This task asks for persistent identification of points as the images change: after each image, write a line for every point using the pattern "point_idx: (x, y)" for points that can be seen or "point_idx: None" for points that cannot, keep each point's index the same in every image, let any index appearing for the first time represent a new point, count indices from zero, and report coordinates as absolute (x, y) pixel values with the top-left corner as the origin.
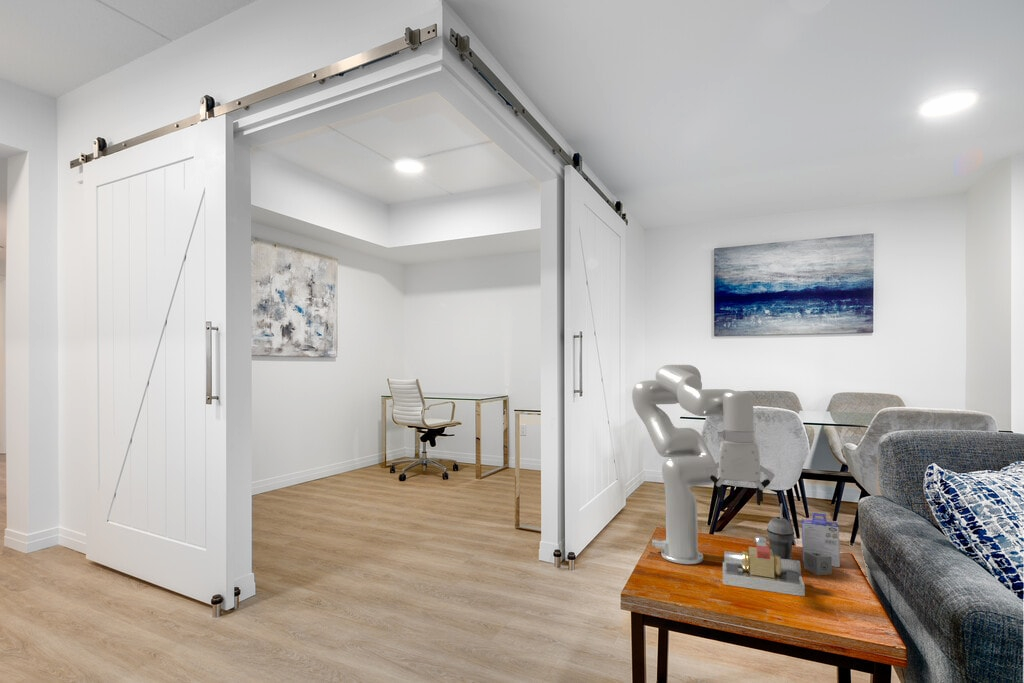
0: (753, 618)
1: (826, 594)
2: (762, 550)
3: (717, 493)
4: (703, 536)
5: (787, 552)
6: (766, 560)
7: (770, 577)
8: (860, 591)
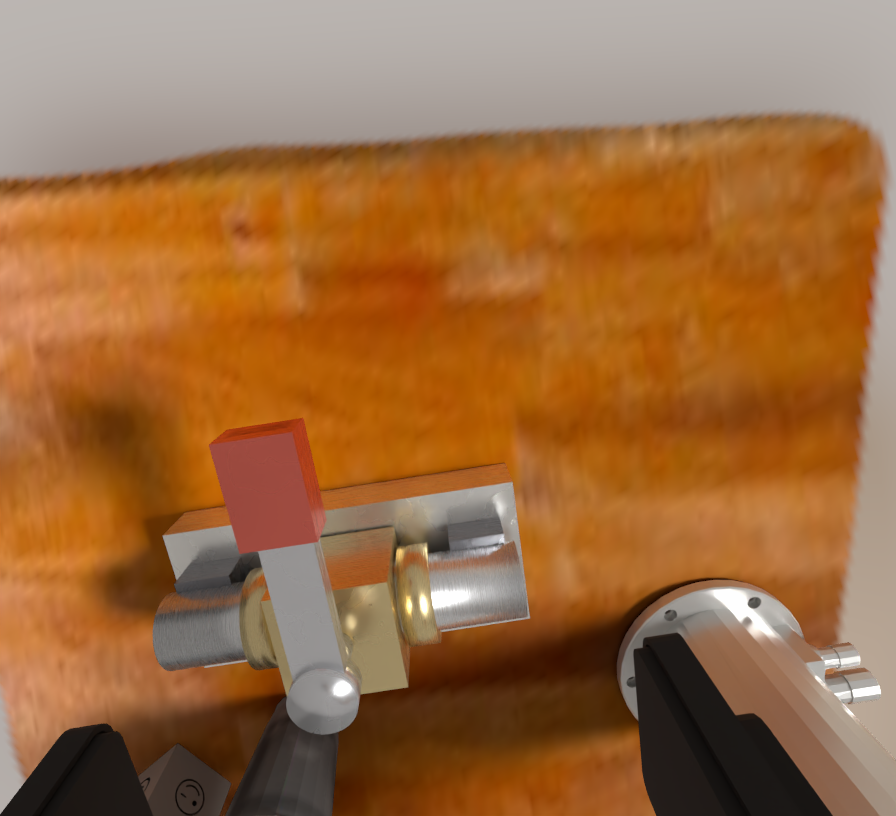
0: (336, 171)
1: (116, 577)
2: (262, 459)
3: (798, 769)
4: None
5: (248, 777)
6: None
7: None
8: (11, 670)
